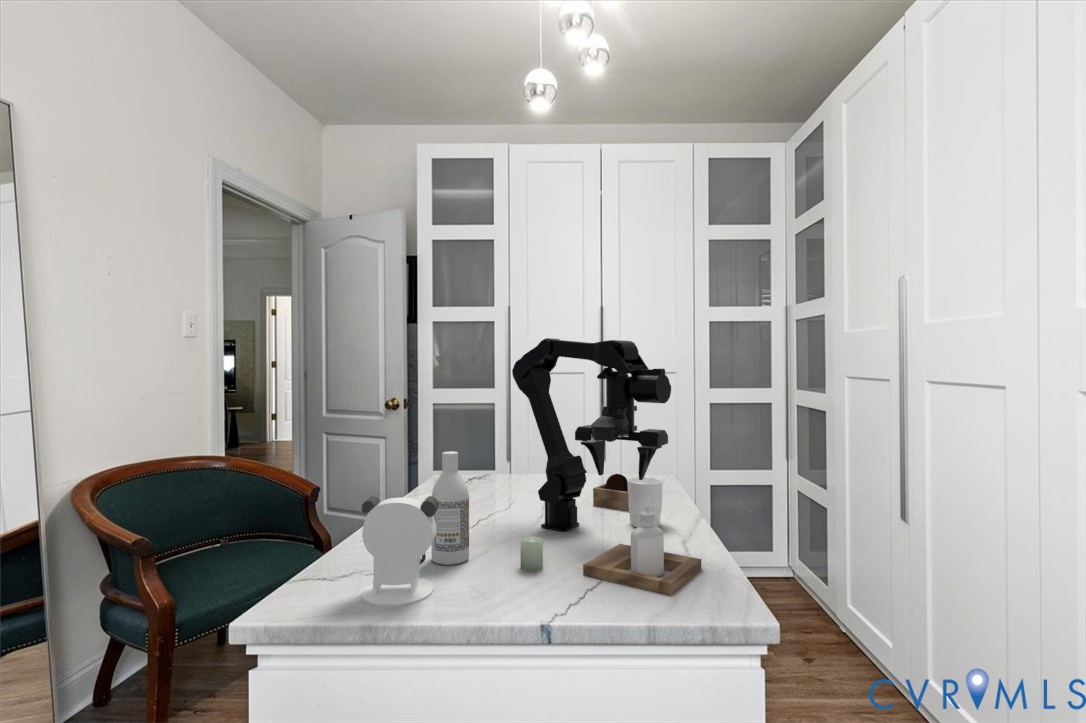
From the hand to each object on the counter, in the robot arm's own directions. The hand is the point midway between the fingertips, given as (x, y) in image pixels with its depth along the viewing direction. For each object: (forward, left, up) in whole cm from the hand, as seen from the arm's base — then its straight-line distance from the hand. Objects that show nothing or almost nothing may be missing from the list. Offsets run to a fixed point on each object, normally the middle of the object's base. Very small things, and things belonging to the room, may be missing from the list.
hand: (620, 477), depth 122 cm
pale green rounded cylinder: (-6, -23, -13) cm, 27 cm away
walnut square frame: (+11, -14, -13) cm, 22 cm away
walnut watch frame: (-14, +28, -13) cm, 34 cm away
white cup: (-1, +14, -13) cm, 19 cm away
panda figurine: (-17, -44, -13) cm, 49 cm away
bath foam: (-21, -28, -13) cm, 37 cm away
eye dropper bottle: (+13, -15, -13) cm, 24 cm away
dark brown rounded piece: (-13, +28, -13) cm, 34 cm away
